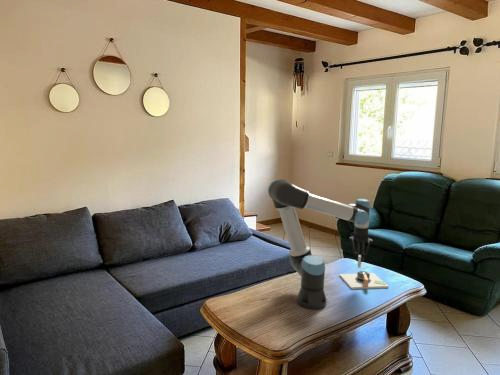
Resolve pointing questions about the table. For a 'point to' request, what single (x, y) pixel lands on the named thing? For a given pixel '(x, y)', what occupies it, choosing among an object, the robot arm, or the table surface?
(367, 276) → the peg dial
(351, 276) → the board
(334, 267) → the table surface
